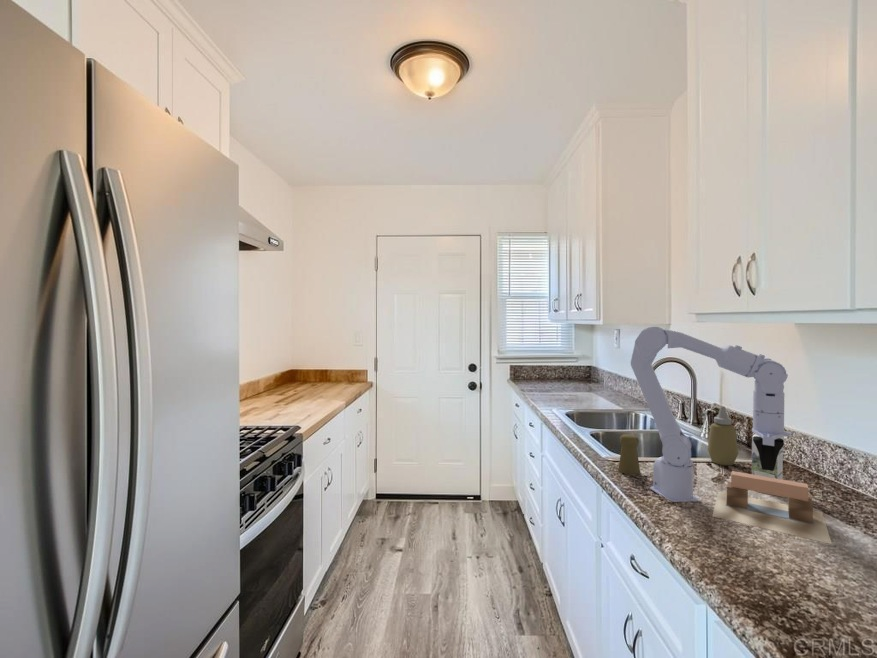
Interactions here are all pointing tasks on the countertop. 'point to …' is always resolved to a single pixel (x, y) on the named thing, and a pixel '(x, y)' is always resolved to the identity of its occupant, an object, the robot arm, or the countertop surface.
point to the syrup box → (758, 468)
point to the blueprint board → (772, 514)
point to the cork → (629, 455)
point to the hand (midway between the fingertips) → (767, 469)
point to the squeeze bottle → (722, 440)
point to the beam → (770, 485)
